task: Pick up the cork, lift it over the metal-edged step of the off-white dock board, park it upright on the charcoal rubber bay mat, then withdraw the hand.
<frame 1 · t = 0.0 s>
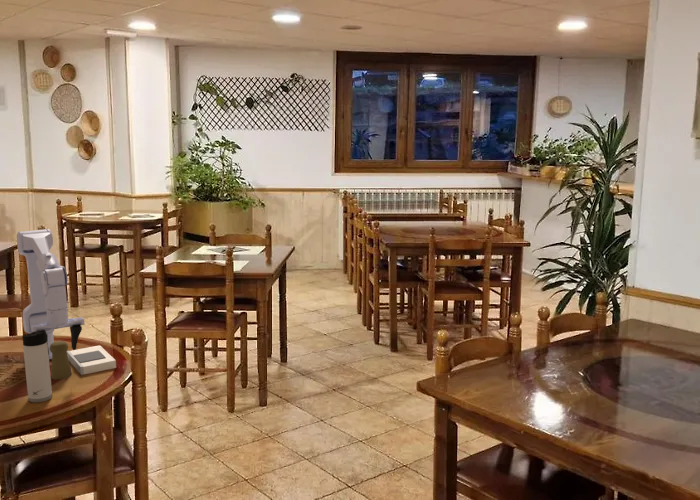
hand: (60, 351, 206), 10 cm above the table, tool pointing down, fingers open, 7 cm apart
dock board: (92, 362, 225), on the table
bay mat: (89, 357, 223), resting on dock board
cork: (61, 376, 214), on the table
travel mug: (40, 399, 197), on the table
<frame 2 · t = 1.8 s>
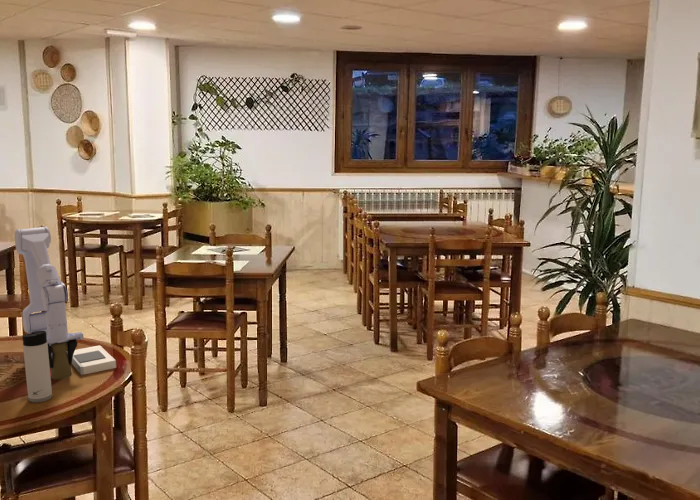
hand: (60, 365, 213), 3 cm above the table, tool pointing down, fingers closed on cork, 5 cm apart
cork: (61, 376, 214), on the table, touching gripper
everything else where it was.
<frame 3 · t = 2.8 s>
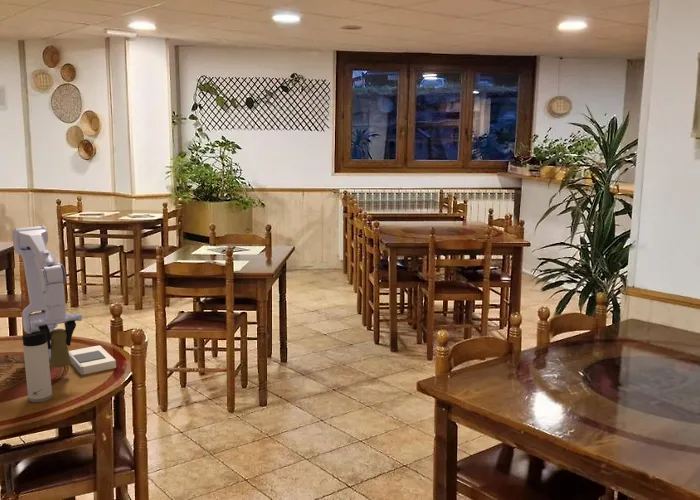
hand: (58, 346, 212), 9 cm above the table, tool pointing down, fingers closed on cork, 5 cm apart
cork: (60, 364, 213), point 4 cm above the table, touching gripper
everything else where it was.
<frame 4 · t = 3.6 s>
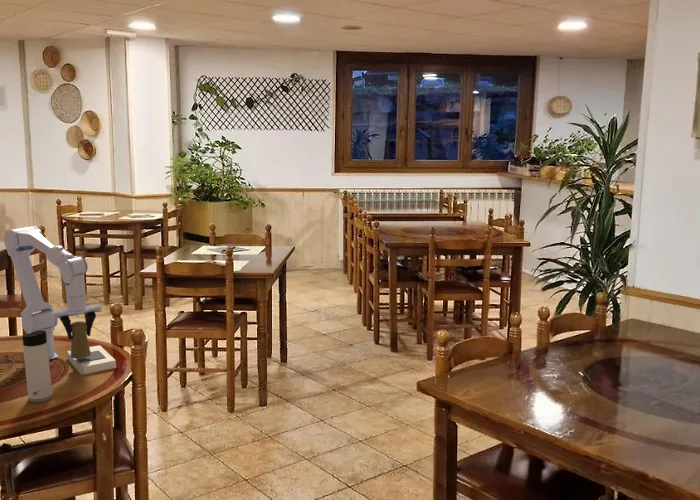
hand: (79, 336, 219), 10 cm above the table, tool pointing down, fingers closed on cork, 5 cm apart
cork: (80, 355, 220), point 4 cm above the table, touching gripper
everything else where it was.
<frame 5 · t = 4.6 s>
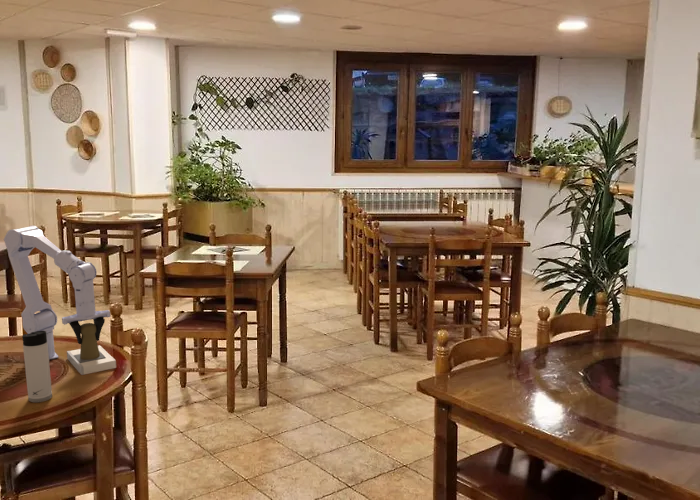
hand: (88, 341, 222), 8 cm above the table, tool pointing down, fingers closed on cork, 5 cm apart
cork: (90, 357, 223), point 3 cm above the table, touching bay mat, gripper
everything else where it was.
when the fingers open (8 cm above the table, at t = 4.9 s): cork stays where it is, resting on bay mat.
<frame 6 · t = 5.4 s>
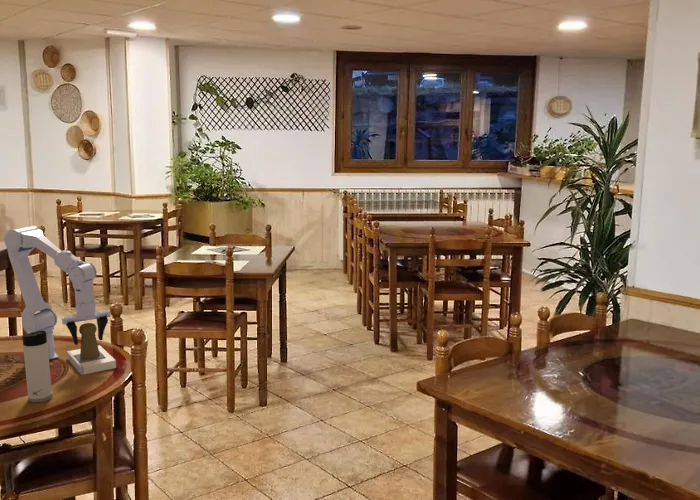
hand: (88, 341, 222), 8 cm above the table, tool pointing down, fingers open, 7 cm apart
cork: (90, 357, 223), point 3 cm above the table, touching bay mat
everything else where it was.
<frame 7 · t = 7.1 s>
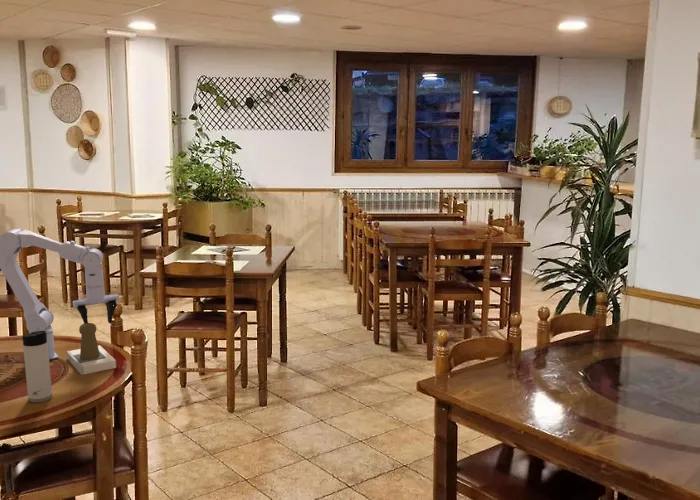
hand: (98, 324, 231), 10 cm above the table, tool pointing down, fingers open, 7 cm apart
nothing on the table moved.
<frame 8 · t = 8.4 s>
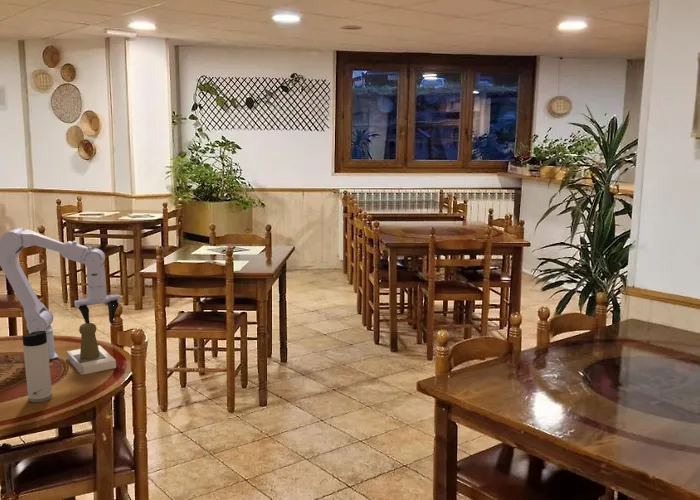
hand: (99, 324, 231), 10 cm above the table, tool pointing down, fingers open, 7 cm apart
nothing on the table moved.
at the end: cork 0.4 cm off-centre on the bay mat, point 0.1 cm above the bay mat's base; cork tilted 0°; the gripper is holding nothing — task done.
